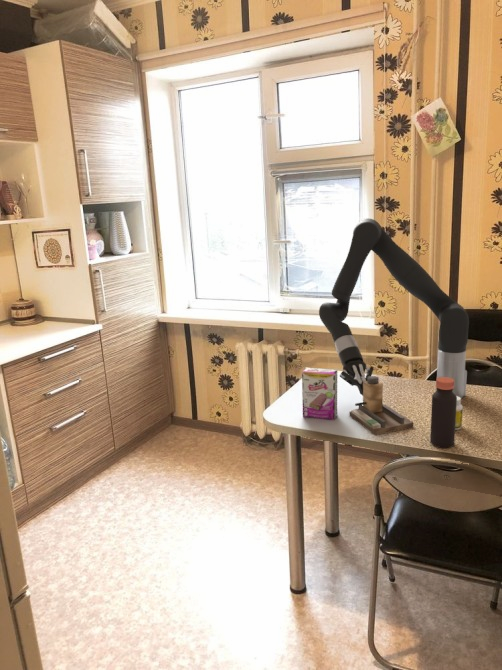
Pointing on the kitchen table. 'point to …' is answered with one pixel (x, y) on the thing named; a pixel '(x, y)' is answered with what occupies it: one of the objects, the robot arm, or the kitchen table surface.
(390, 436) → the kitchen table surface
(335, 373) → the candy bar box
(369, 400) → the block
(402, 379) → the kitchen table surface
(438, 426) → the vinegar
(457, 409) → the supplement bottle
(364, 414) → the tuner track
